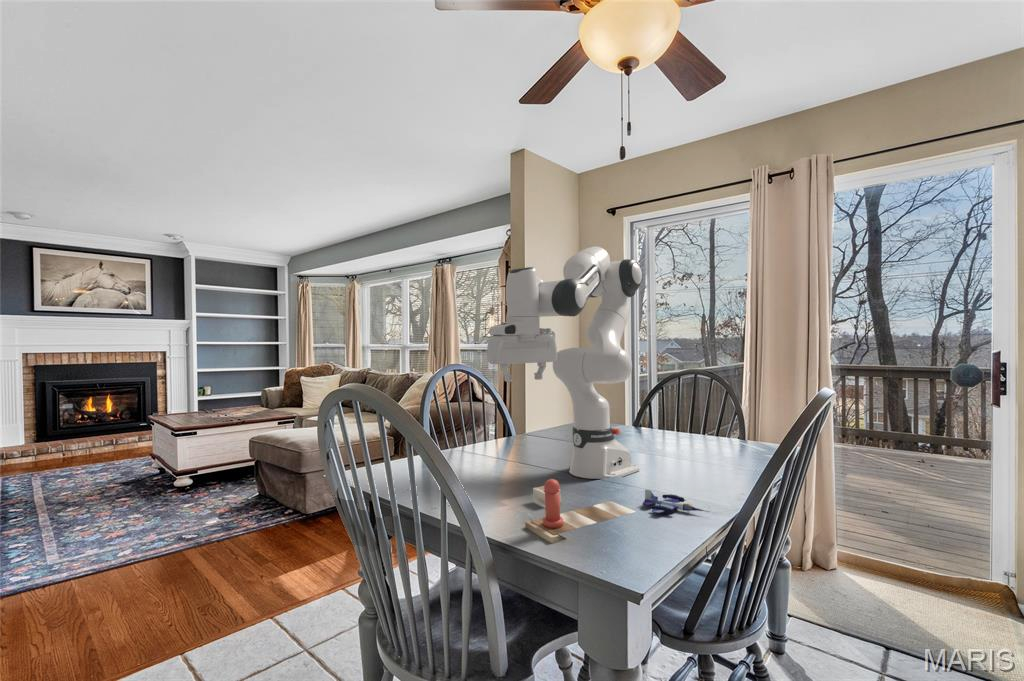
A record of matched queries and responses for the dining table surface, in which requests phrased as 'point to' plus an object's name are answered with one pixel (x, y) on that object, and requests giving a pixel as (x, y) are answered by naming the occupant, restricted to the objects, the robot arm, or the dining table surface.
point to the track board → (578, 520)
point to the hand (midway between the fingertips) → (523, 380)
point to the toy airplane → (668, 503)
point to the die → (541, 496)
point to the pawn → (552, 505)
